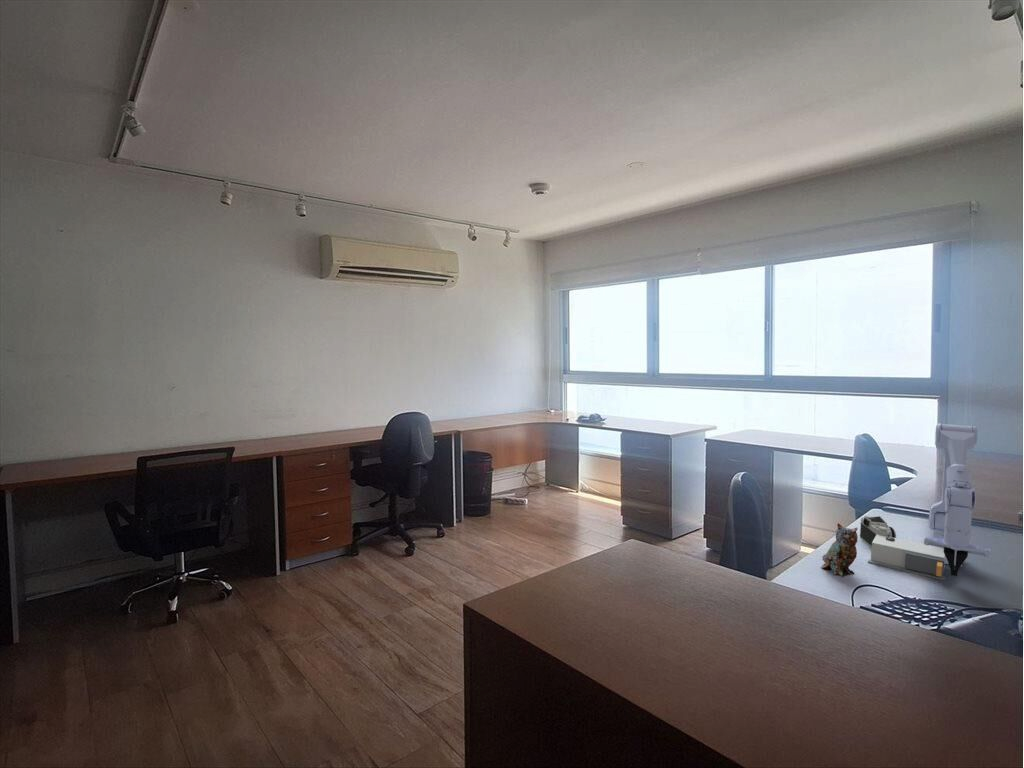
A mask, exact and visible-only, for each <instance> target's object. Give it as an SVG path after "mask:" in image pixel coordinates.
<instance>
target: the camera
mask: <svg viewBox="0 0 1024 768" xmlns="http://www.w3.org/2000/svg"><path fill="white" fill-rule="evenodd" d="M859 528H860V530H859V534H860V535H859V538H860V539H861V540H862V541H863V542H864V541H865V543H866V544H867V545H868V546H869V545H870V546H871V547H870V546H869V547H870V548H872V542H873V540H874V538H875V536H876V535H882V536H887V537H892V538H897V532H896V530H895V529H894V527H892V526H889V525H888V523H887V522H886V521H885V520H884V519H883V518H882V516H881V515H879V516H872V517H871V516H869V515H863V517H861V518H860V527H859Z"/></svg>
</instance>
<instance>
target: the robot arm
mask: <svg viewBox="0 0 1024 768" xmlns="http://www.w3.org/2000/svg"><path fill="white" fill-rule="evenodd" d="M934 433H935V436H934V437H935V438H934V439H935V441H934V446H935V448H936V449H939V450H940V451H942V454H943V466H942V467H943V468H942V481H941V482H942V484H941V485H942V486H941V500H940V501H938V502H935V503H933V504H931V506H930V508H929V512H928V513H929V514H928V528H929V529H930V530H932V531H933V535H932V537H929V536H924V540H923V544H924V545H931V546H936V547H941V548H944V554H945V564H946V565H949V570H950V576H953V577H958V573H959V570H960V568H961V567H962V566H963V563H964V562H965V561H966V559H968V556H969V555H968V554H972V555H977V556H981V557H984V558H988V559H990V555H991V549H990V548H985V547H981V546H978V545H974V544H970V543H971V531H972V528H971V527H972V520H973V519H972V517H973V510H974V509H975V507H976V504H977V503H976V502H977V495H976V490H975V486H974V485H973V480H972V479H973V477H972V476H973V475H972V470H971V469H970V468H969V467H967V459H968V458H967V455H968V453H969V452H972V451H973V450H974V448H975V447H976V445H977V442H978V427H976V426H975V425H962V424H959V425H958V424H948V423H947V424H946V423H945V424H944V423H938V424H936V425H935V432H934Z"/></svg>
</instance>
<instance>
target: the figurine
mask: <svg viewBox="0 0 1024 768" xmlns="http://www.w3.org/2000/svg"><path fill="white" fill-rule="evenodd" d="M836 525H837V528H836V530H835V541H834V542H832V544H831V545H830V547H829V548H828V550H827V552H826V553H825V554H824V555H822V557H821V558H822V561H823V562H824V564H822V565H821V566H820V569H822V570H826V571H829V572H830V571H831V572H833V575H834V576H839V577H841V578H842V577H845V576H846V577H847V576H850V575H854V574H855V571H853V570H851V569H850V566H851V565H853V563H854V562H855V559H856V558H857V554H858V551H857V547H856V545H857V543H858V532H857V531H858V527H853V528H848V527H844V526H843V525H842V524H840V523H839V522H838V523H837V524H836Z"/></svg>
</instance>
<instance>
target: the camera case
mask: <svg viewBox="0 0 1024 768" xmlns="http://www.w3.org/2000/svg"><path fill="white" fill-rule="evenodd" d="M870 550H871V555H870V559H868V560H867V563H869V564H872V565H875V566H876V565H877V566H881V567H885V568H890V569H894V570H899V571H903V572H906V573H910V574H915V575H919V576H924V577H929V578H933V579H937V580H941V581H945V578H946V577H945V576H944V575H943V576H941V577H940V576H936V575H934V574H930V573H925V572H921V571H916V570H912V569H908V568H905V557H906V552H909V553H913V554H918V555H923V556H928V557H932V558H937V559H942V560H944V568H945V554H944V548H941V547H936V546H931V545H924V543H921V542H916V541H913V540H912V541H911V540H906V539H901V538H897V537H896V538H892V537H887V536H882V535H876V536H875V538H874V540H873V542H872V547H871V549H870ZM944 572H945V571H944ZM944 572H943V574H945V573H944Z"/></svg>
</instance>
